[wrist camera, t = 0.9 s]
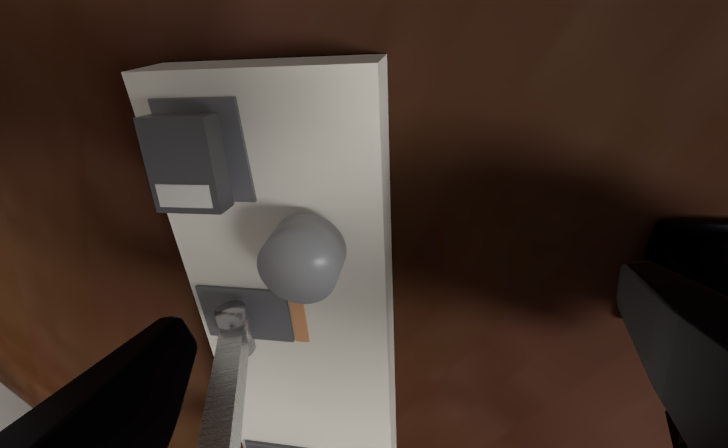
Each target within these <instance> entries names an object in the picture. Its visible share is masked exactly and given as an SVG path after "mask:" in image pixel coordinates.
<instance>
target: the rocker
mask: <svg viewBox="0 0 728 448" xmlns="http://www.w3.org/2000/svg"><path fill="white" fill-rule="evenodd" d="M133 121H134V125H135V129H136V133H137V137H138V141H139V145H140V149H141V153H142V157H143V161H144V165H145V168H146V172H147V176H148V180H149V184H150V188H151V192H152V196H153V200H154V204H155V208H156V212H157V213H180V214H213V215H221V214H223V213H224V212H225V211H227V210H228V209H229V208H231V207H232V206H233V205H234V200H233V194H232V188H231V183H230V177H229V171H228V165H227V159H226V154H225V148H224V142H223V136H222V130H221V125H220V119H219V113H159V114H148V115H143V116H139V117H134V118H133Z"/></svg>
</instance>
